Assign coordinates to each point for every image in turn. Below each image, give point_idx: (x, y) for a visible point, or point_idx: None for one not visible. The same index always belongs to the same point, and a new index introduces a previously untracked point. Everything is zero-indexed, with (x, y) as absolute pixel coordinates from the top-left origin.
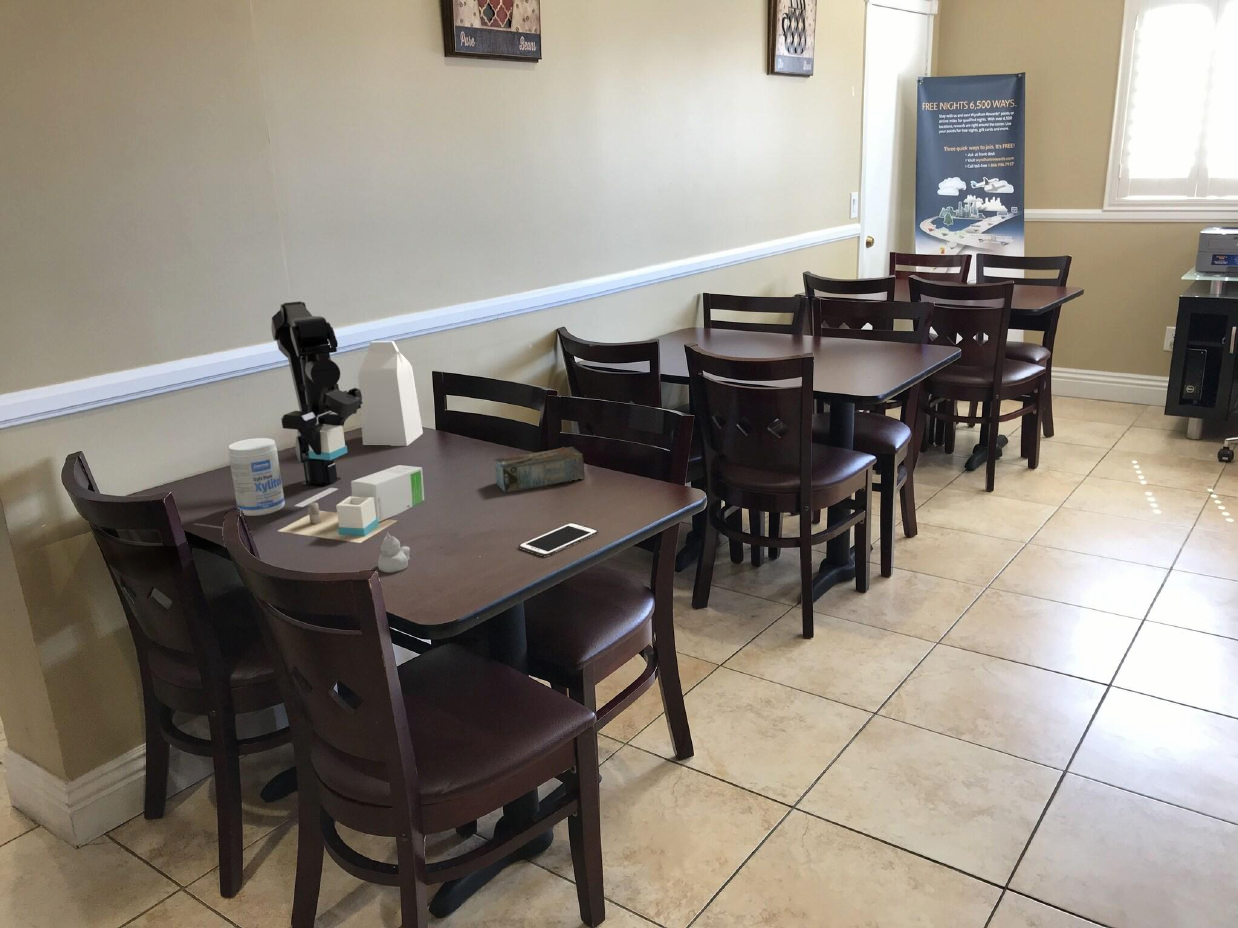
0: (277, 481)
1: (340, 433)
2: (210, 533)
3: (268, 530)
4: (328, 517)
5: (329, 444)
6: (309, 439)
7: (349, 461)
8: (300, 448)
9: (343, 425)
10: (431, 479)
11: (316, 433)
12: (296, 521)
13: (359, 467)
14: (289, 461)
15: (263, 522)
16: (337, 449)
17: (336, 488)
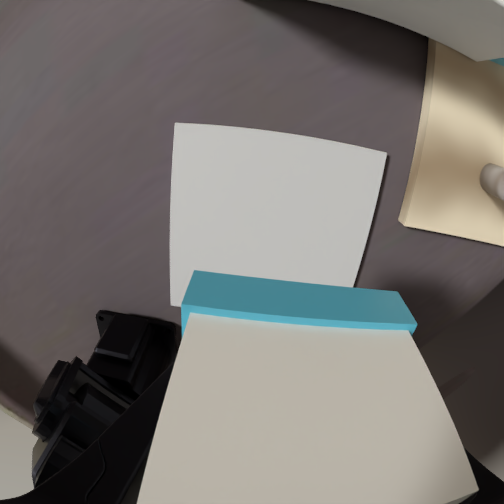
0: None
1: (217, 442)
2: (465, 371)
3: (481, 284)
4: (458, 156)
5: (420, 383)
6: None
7: (17, 341)
8: None
9: (59, 474)
10: (24, 44)
11: (498, 495)
12: (478, 238)
13: (23, 306)
14: None
15: (435, 325)
16: (307, 325)
17: (170, 284)
